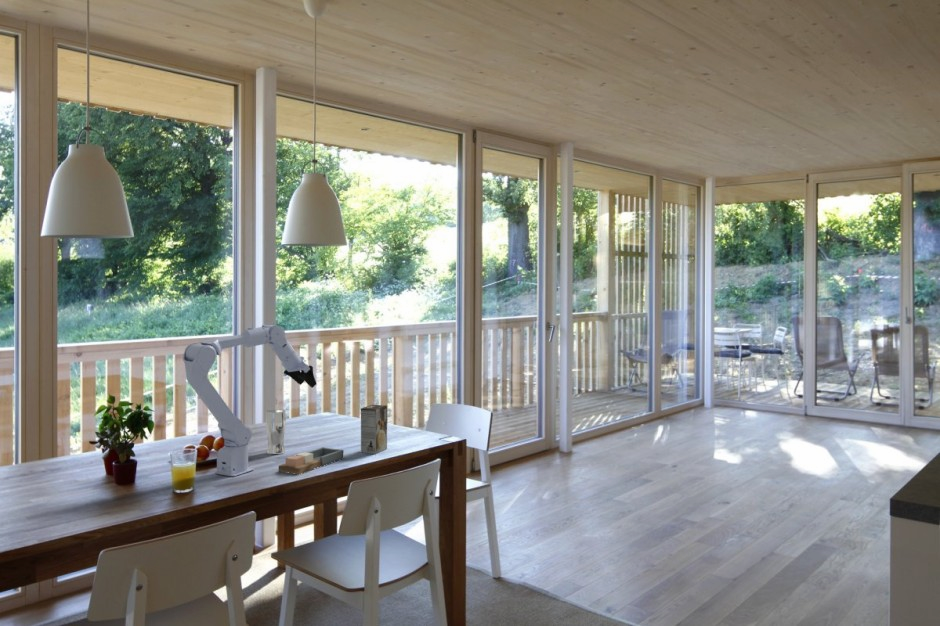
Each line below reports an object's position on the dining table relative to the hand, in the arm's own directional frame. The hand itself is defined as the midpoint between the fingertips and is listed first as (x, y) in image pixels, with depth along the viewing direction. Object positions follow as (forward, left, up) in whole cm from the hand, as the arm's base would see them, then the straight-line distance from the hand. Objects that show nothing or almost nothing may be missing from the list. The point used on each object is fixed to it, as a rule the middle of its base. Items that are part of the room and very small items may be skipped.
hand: (308, 384), depth 253 cm
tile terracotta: (-16, -7, -24) cm, 30 cm away
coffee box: (+20, -14, -26) cm, 36 cm away
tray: (-1, -7, -26) cm, 27 cm away
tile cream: (-11, -7, -24) cm, 27 cm away
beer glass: (+1, +15, -26) cm, 30 cm away
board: (-13, -7, -26) cm, 30 cm away
